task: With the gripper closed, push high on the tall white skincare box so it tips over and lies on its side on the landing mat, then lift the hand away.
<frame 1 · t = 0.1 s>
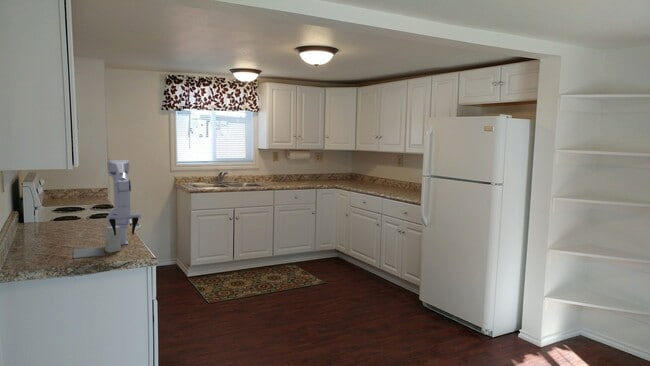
hand: (124, 234, 217), 10 cm above the table, tool pointing down, fingers open, 7 cm apart
landing mat: (88, 253, 221), on the table
skincare box: (113, 251, 226), on the table
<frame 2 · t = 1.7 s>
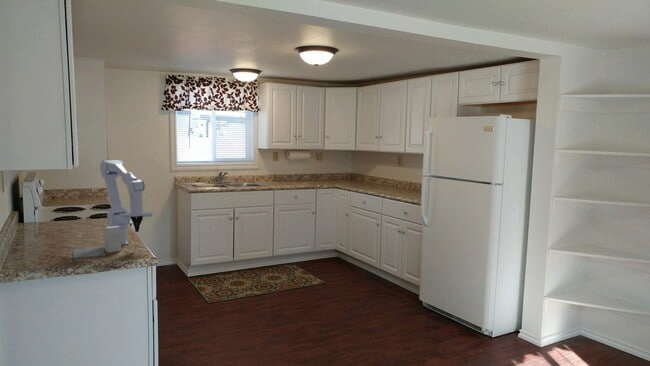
hand: (136, 231, 230), 9 cm above the table, tool pointing down, fingers closed
nothing on the table moved.
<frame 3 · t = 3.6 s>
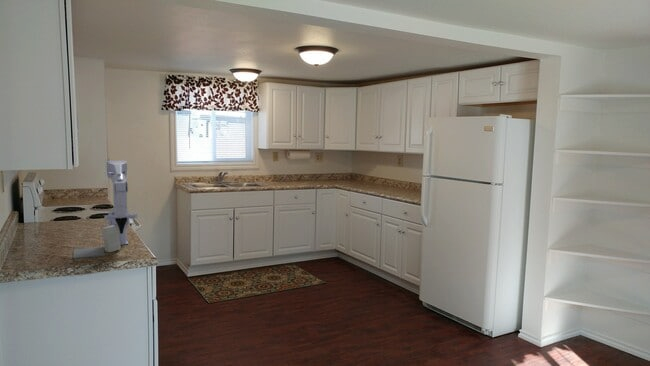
hand: (121, 233, 227), 8 cm above the table, tool pointing down, fingers closed
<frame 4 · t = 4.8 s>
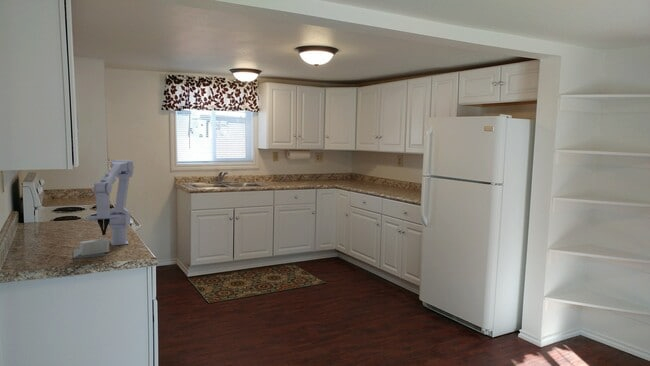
hand: (103, 234, 223), 8 cm above the table, tool pointing down, fingers closed
skincare box: (107, 245, 224), point 3 cm above the table, touching landing mat
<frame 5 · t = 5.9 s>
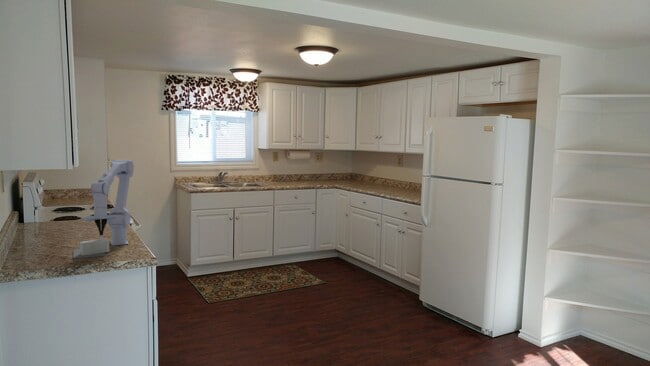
hand: (101, 234, 223), 8 cm above the table, tool pointing down, fingers closed
nothing on the table moved.
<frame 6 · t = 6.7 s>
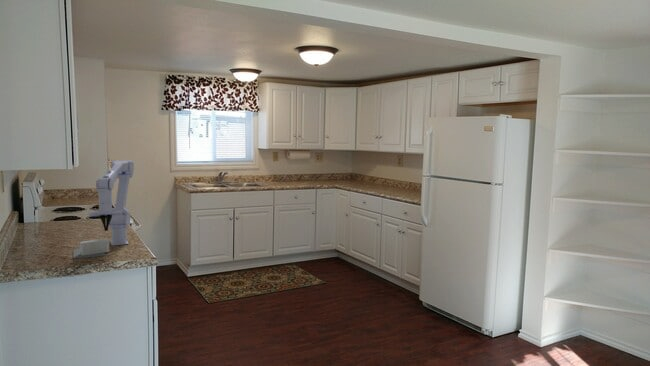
hand: (106, 230, 224), 10 cm above the table, tool pointing down, fingers closed
nothing on the table moved.
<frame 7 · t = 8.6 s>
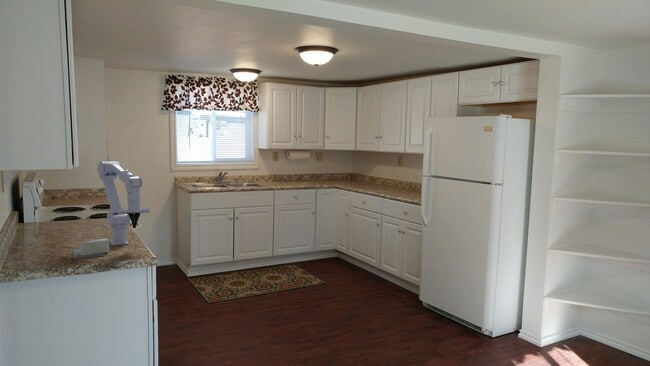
hand: (134, 227, 231), 10 cm above the table, tool pointing down, fingers closed
nothing on the table moved.
at the end: skincare box tilted 89°; skincare box touching landing mat; skincare box inside the target area (1.1 cm from its centre), point 3.4 cm above the table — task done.
